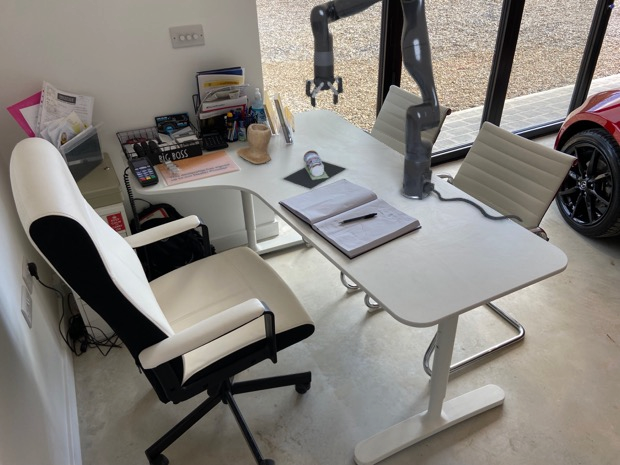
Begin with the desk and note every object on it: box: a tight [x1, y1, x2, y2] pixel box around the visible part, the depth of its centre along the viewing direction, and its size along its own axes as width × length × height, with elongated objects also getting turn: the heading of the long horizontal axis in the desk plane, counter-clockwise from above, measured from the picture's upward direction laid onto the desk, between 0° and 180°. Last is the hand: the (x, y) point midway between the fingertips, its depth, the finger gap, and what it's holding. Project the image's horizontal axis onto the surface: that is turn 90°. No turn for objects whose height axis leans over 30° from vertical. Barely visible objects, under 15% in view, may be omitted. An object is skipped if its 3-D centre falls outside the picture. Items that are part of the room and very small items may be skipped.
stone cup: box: [236, 123, 272, 165], centre depth 209 cm, size 15×12×15 cm
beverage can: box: [303, 150, 324, 176], centre depth 197 cm, size 6×7×12 cm
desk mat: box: [283, 160, 346, 190], centre depth 198 cm, size 14×22×1 cm, turn 140°
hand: (324, 105), depth 192 cm, fingers open, 8 cm apart
